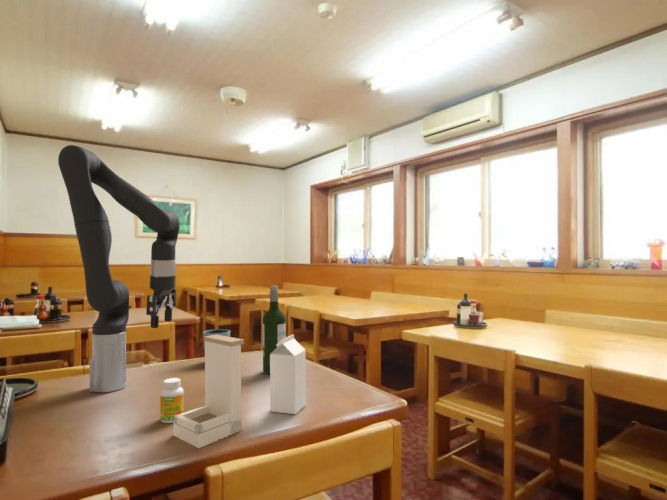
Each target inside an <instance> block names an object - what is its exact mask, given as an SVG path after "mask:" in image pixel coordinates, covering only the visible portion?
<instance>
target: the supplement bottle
mask: <svg viewBox="0 0 667 500" xmlns="http://www.w3.org/2000/svg"><path fill="white" fill-rule="evenodd" d="M162 383H163V385H162V386H163V388H162V390H161V391H160V397H159V398H160V399H159V403H160V406H159V407H160V408H159V409H160V422H162V423H164V424H174V416H175V415H179V414H182V413H185V412H184V411H185V409H184V399H185V398H184V397H185V396H184V393H185V392H184V388H183V387H182V386H181V379H180V378H178V377H170V378H167V379H164V380H163V382H162Z"/></svg>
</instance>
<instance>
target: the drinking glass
mask: <svg viewBox="0 0 667 500" xmlns="http://www.w3.org/2000/svg"><path fill="white" fill-rule="evenodd" d="M216 334H217V335H222V336H228V337H231V330H230V329H227V328H226V329H225V328H218V329H217V328H215V329H207V330H204V331H203V332H202V335H203V337H202V338H204V337H205V336H210V335H216ZM203 343H204V344H203V345H204V346H203V349H204V353H205V341H204V340H203Z"/></svg>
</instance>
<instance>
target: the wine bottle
mask: <svg viewBox="0 0 667 500" xmlns="http://www.w3.org/2000/svg"><path fill="white" fill-rule="evenodd" d="M278 291H279V287H278V285H270V287H269V309H268V310H267V312H265V314H264V315H263V316H262V371H263V374H265V375H269V376H270V354H271V353H272V352H273V351H274V350H275V349H276V348H277V346H276V344H277V343H279V342H280V341H282V339H284V338H286V337H287V335H286V316H285V313H283V312H282V311H281V309H280V308H279V294H278V293H279V292H278Z"/></svg>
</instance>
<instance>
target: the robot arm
mask: <svg viewBox="0 0 667 500" xmlns="http://www.w3.org/2000/svg"><path fill="white" fill-rule="evenodd" d="M57 160H58V161H57V162H58V167H59V169H60V173H61V177H62V179H63V182H64V185H65V188H66V191H67V194H68V195H67V196H68V200H69V204H70V209H71V213H72V217H73V223H74V229H75V233H76V238H77V242H78V246H79V251H80V257H81V261H82V265H83V272H84V282H85V283H84V284H85V294H86V299H87V302H88V304H89V306H90V307H91V309H93V310H94V311H96V312H98V317H97V318H96V320H95V322H94V323H93V325H92V329H91V333H92V335H91V343H92V344H91V346H92V347H91V349H92V350H91V351H92V352H91V355H92V356H91V357H92V358H90V360H89V392H91V393H110V392H111V393H112V392H115V391H116V392H117V391H120V390H122V389H124V388H125V387H127V331H126V330H127V325H128V322H129V318H130V317H129V316H130V292H129V289H128V287H127V285H126V283H125V282H123V281H120V280H116V279H114V280H113V277H112V273H111V269H110V252H111V247H112V241H113V240H112V239H113V238H112V237H113V235H112V232H111V231H112V230H111V226H110V221H109V217H108V215H107V213H106V211H105V209H104V207H103V206H102V204H101V202H100V200H99V198H98V197H97V195H96V193H95V191H94V188H93V185H92V184H94V185H96V186H98V187H100V188H101V189H102V190H104V191H105V192H106V193H108V195H110V196H111V197H112V199H114V201H115V202H116V203H117V204H119V205H121V206H122V207H123V208H124V209H125V210H127V211H128V212H130V213H131V214H133V215H134V216H136V217H137V219H139V221H141V222H142V224H144V225H145V226H146V227H147V228H148V229H150V230H151V231H153V232H155V233H156V234H157V235H156V239H155V240H154V241H153V242H152V243H151V249H150V250H151V252H150V253H151V255H150V265H149V289H150V290H153V294H152V295H150V294H147V297H146V309H145V310H146V312H145V314H146V316H150V328H151V329H158V328H159V326H160V312H161V311H162V310H163V308H164V317H163V318H164V321H165V322H172V321H173V310H174V307H175V308H176V306H177V289H176V276H177V275H176V273H177V272H176V269H177V267H176V265H177V264H176V245H177V241H178V237H179V233H180V226H181V225H180V218H179V216H178V215H177V213H175V212H174V211H172V210H163V209H162V208H160V207H158V205H156V204H155V202H154V200H153V199H152V198H151V197H149V196H148V195H147V194H145V192H143V191H141V190H139V189H138V188H137V187H135V186H134V185H132V184H130V183H129V182H127V181H126V180H125V179H123V178H122V177H120V175H117V174H116V173H115V171H113V170H112V169H111V168H110V167H108V166H107V165H106V163H105V162H104V161H103V160H101V158H99V157H98V156H97V155H96V154H95V152H93V151H91V150H88V149H86V148H84V147H81V146H78V145H74V144H68V145H66V146H64V147H62V149H61V150H60V152H59V154H58V159H57Z"/></svg>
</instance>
